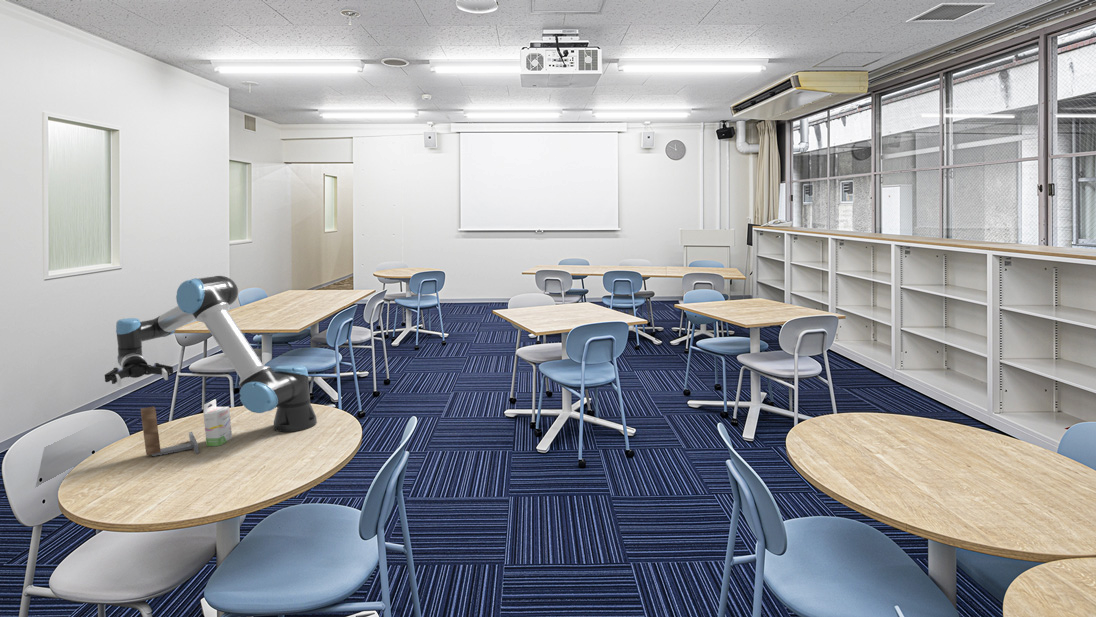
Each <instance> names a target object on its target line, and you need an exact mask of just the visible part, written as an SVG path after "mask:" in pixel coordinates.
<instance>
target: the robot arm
mask: <svg viewBox="0 0 1096 617" xmlns="http://www.w3.org/2000/svg"><path fill="white" fill-rule="evenodd" d="M238 296H239V290H238V286H237V284H236V282H235V281H234V280H233V279H231V278H229V277H227V276H224V275H214V276H206V277H199V278H192V279H187V280H185V281H183V282H182V283H180V285H179V286H178V288H177V290H176V297H175V299H176V304H177V306H175V307H174V308H171V309H169V310H168V311H166V312H164V313H162V314H160V315H158V316H157V317H155V318H153V319H148V320H142V321H141V320H140V319H139V318H135V317H130V318H129V317H128V318H122V319H118V320H117V321H116V325H115V327H116V328H115V334H116V341H117V353H118V354H117V364H119V366H120V367H121V369H120V368H118V367H113V369H112V370H110V371H109V372H107V373H105V374H104V382H105V383H109V382H110V381H111V384H112V385H115V384H117V386H118V387H122V379H125V378H133V379H137V378H141V377H143V376H144V375H145V376H146V375H160V376H162V378H163V379H164V381H168V380H169V376H170V375H173V374H174V366H171V365H166V364H160V363H159V362H155V363H154V364H153V365H151V364H149V363H148V362H147V360H146V359H145V358H144V357H143V349H142V347H143V345H142V344H143V343H142V342H146V341H150V340H155V339H158V338H165V337H166V338H167V337H168V336H171V335H172V334H173V335H174V333H175V331H177V329H179V328H182V327H184V326H185V325H188V324H189V323H191V322H193V321H194V320H196V321H197V322H199V323H200V322H201V323H204V325H205V327H206V329H207V330H208V331H209V333H210V334H211V335H212V337H213V339H214V340H215V342H216V344H217V345H218V347H219V348H220V349H221V351H222V352H223V354H224V356H225V357H226V358H227V360H228V361H229V363H230V364H231V366H232V368H233V369H234V371H235V372H236V374H237V375H238V376H239V378H240V379H239V382H238V385H239V387H240V390H239V395H240V396H239V399H240V403H241V404H242V406H244V408H245V409H247V410H248V411H250V412H252V413H255V414H264V413H267V412H270V411H272V410H275V408H276V412H275V415H274V419H273V429H274V430H275V431H277V432H284V433H285V432H298V431H299V432H300V431H303V430H308V429H310V428H312V427H314V426H315V425H316V424H317V423H318V420H317V416H316V414H315V411H314V409H313V407H312V404H311V395H310V382H309V381H310V380H309V377H310V376H309V373H308V372H309V371H308V369H307V367H306V366H304V365H297V364H294V365H293V364H291V365H290V364H289V365H277V366H275V367H274V368H272V367H271V366H267V365H264V364H263V362H262V360H261V359H260V358H259V357H258V355H257V353H256V352H255V350H254V348H253V347H252V346H251V344H250V342H249V341H248V339H247V338H246V337H245V335H244V334H243V331H242V330H241V329H240V327H239V326H238V325H237V323H236V321H235V320H234V318H233V316H231V314H230V312H229V311H228V310H229V306H230V305H232V304H234V302H236V300H237V298H238Z"/></svg>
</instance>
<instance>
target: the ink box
mask: <svg viewBox="0 0 1096 617" xmlns="http://www.w3.org/2000/svg"><path fill="white" fill-rule="evenodd" d="M230 410H231V409H230V406H217V399H216V398H215V399H213V400H211V401H209V402H207V403H205V404H203V422H204V423H203V424H204V432H205V433H204V434H205V443H206V446H207V447H218V446H221V445H224V444H225V443H226V442H228V441H230V440H231V439H232V438H233V431H232V424H231V423H232V422H231V413H230Z"/></svg>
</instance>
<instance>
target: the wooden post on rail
mask: <svg viewBox="0 0 1096 617" xmlns="http://www.w3.org/2000/svg"><path fill="white" fill-rule="evenodd" d="M156 410H157V409H156V407H155V406H149V407H142V408H140V414H141V415H140V416H141V417H140V418H141V423H142V425H141V426H142V431H143V438H144V439H143V441H144V446H145V453H146V456H150V455H151V457H152V456H155V457H157V456H156V455H160V456H163V455H162V454H164V455H168V453H169V454H173V452H174V453H177V452H178V453H179V452H184V451H187V450H194V453H195V454H199V453H200V451H199V444H198V442H197V439H196V437H195V435H194V432H193V431H189V432H188V439H189V442H187V443H180V444H177V445H173V446H168V447H162V448H161V443H160V435H159V434H160V433H159V426H158V420H157V411H156Z"/></svg>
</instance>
